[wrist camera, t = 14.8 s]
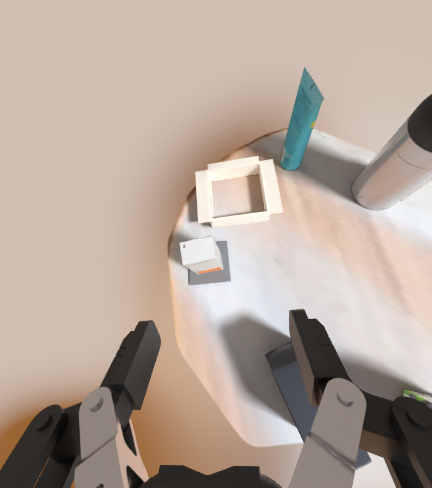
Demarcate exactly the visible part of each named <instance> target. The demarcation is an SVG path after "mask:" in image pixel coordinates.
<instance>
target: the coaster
mask: <svg viewBox="0 0 432 488" xmlns="http://www.w3.org/2000/svg"><path fill="white" fill-rule="evenodd" d="M216 244H217V246H218V248H219V250H220V252H221V258H222V263H223V270H218V271H212V272H207V273H203V274H199V275H198V274H196V273H195V272H193V271H191V270H190V269H189V276H190V285H198V284H209V283H219V282H229V281H231V278H230V268H229V258H228V248H227V241H224V242H216Z"/></svg>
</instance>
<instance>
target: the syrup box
mask: <svg viewBox="0 0 432 488" xmlns="http://www.w3.org/2000/svg"><path fill="white" fill-rule="evenodd" d="M403 396H405V397H411V398H414V399H416V400H418V401H420V402H422V403H424V404H425V405H426V406H428V407H429V408H430V409H431V410H432V396H430V395H426V394H422V393H418V392H413V391H408V390H403Z"/></svg>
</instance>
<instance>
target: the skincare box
mask: <svg viewBox="0 0 432 488" xmlns="http://www.w3.org/2000/svg"><path fill="white" fill-rule="evenodd" d="M179 245H180V252H181V258H182V265H183V266H185V267H187V268H188V269H190V270H191V271H193V272H195V273H196V274H198V275H199V274H203V273H207V272H212V271H218V270H223V263H222V258H221V252H220V250H219V248H218V246H217V244H216V242H215V240H214V238H213V236H208V237H203V238H197V239H193V240H189V241H185V242H180V243H179Z"/></svg>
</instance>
